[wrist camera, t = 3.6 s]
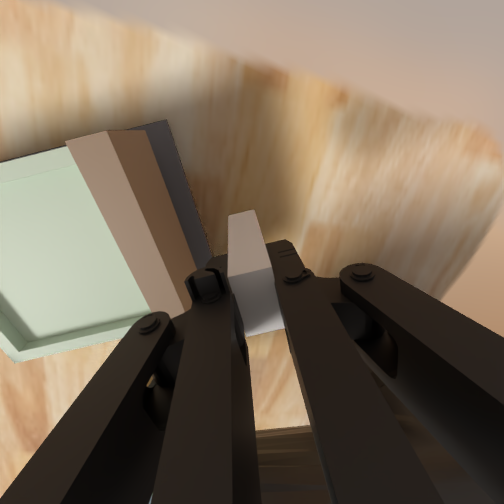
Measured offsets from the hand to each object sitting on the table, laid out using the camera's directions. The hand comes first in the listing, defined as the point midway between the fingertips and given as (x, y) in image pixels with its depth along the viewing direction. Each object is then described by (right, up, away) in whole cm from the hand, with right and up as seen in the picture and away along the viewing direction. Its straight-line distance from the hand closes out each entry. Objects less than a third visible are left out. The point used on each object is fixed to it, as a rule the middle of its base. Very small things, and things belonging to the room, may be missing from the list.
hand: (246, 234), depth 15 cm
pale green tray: (-13, 0, +8) cm, 15 cm away
